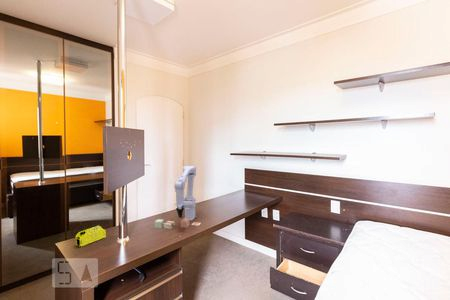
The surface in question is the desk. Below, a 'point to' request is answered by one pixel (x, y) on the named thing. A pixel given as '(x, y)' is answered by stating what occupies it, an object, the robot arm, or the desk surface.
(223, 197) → the desk surface
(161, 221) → the sage cube
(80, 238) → the yellow toy chassis
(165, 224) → the maple base
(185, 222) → the terracotta cube
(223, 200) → the desk surface
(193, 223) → the tile
